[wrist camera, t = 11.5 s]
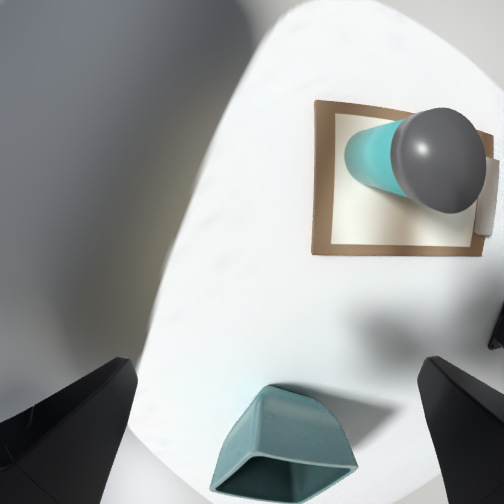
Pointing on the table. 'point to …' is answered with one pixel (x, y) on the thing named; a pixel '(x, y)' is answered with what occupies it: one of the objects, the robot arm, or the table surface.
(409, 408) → the table surface
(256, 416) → the flower pot
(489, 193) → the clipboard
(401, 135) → the teal capped bottle
